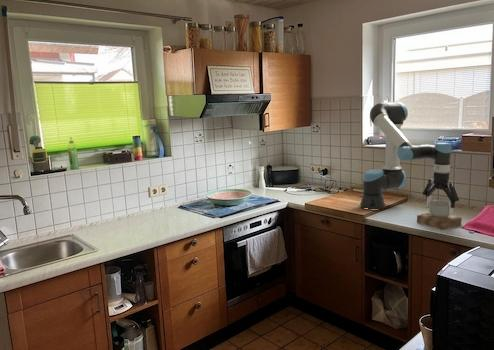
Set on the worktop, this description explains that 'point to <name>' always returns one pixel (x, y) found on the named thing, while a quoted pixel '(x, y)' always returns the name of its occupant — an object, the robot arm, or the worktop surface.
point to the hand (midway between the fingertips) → (439, 210)
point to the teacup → (439, 208)
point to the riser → (439, 221)
